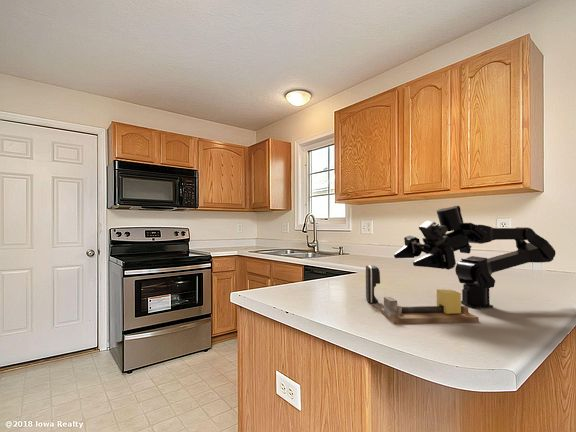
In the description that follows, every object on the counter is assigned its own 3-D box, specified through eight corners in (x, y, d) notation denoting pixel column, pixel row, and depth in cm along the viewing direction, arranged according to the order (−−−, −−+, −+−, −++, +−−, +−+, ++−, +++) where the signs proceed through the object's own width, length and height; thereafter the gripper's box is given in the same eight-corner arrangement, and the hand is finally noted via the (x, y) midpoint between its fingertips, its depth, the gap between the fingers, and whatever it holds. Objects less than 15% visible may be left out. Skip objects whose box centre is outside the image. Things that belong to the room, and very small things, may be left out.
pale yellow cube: (450, 308, 88) (450, 289, 88) (461, 313, 83) (460, 293, 84) (436, 308, 88) (436, 289, 88) (446, 313, 83) (445, 293, 83)
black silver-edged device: (381, 304, 99) (380, 267, 100) (368, 303, 100) (368, 267, 100) (377, 298, 106) (377, 264, 106) (365, 298, 107) (365, 264, 107)
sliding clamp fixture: (456, 311, 91) (455, 293, 91) (478, 321, 81) (478, 302, 81) (380, 312, 90) (380, 294, 90) (394, 323, 80) (393, 303, 80)
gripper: (422, 214, 103) (380, 229, 100) (468, 222, 85) (419, 240, 82) (428, 246, 105) (387, 261, 102) (474, 260, 87) (426, 279, 84)
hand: (403, 260), depth 92 cm, fingers open, 9 cm apart
